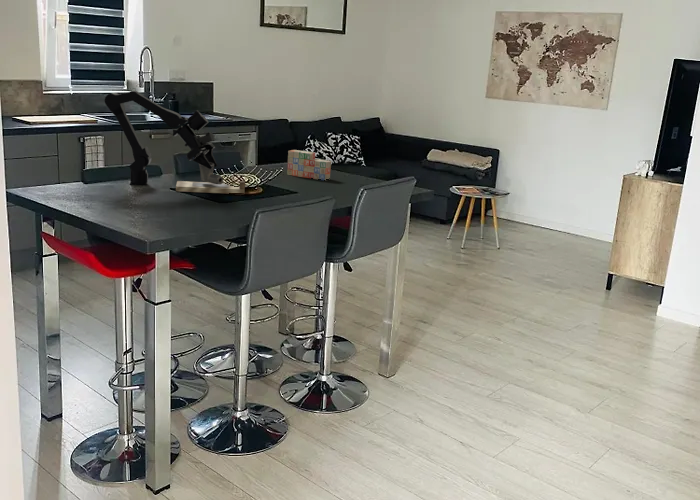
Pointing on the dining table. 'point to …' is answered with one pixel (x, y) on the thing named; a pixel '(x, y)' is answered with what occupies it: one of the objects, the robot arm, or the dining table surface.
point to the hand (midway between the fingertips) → (213, 167)
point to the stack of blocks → (307, 165)
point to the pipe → (209, 175)
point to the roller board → (209, 187)
